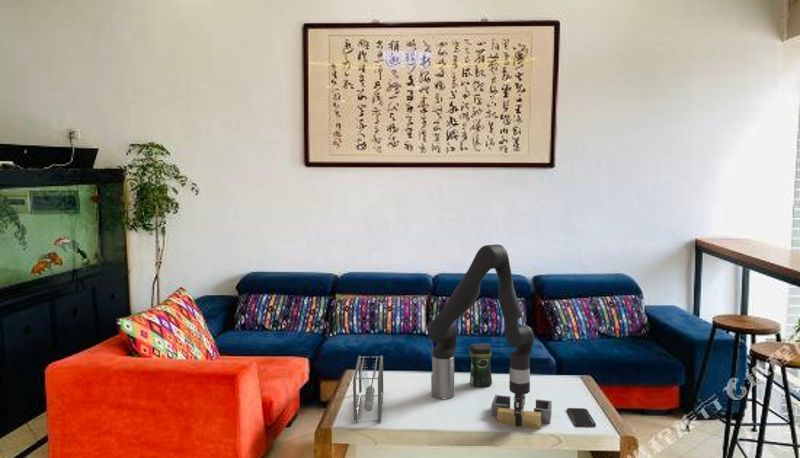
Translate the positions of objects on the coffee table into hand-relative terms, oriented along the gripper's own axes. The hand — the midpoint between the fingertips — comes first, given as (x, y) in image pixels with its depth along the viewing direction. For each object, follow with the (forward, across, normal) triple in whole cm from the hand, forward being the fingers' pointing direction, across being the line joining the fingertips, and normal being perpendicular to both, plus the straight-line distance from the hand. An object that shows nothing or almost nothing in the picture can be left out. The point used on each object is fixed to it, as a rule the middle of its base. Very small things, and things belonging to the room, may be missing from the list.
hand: (519, 421), depth 212 cm
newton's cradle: (+1, +2, -60) cm, 60 cm away
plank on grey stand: (+1, -8, 0) cm, 9 cm away
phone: (+1, -12, +22) cm, 25 cm away
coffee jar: (+1, -36, -21) cm, 42 cm away
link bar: (+1, 0, 0) cm, 1 cm away
